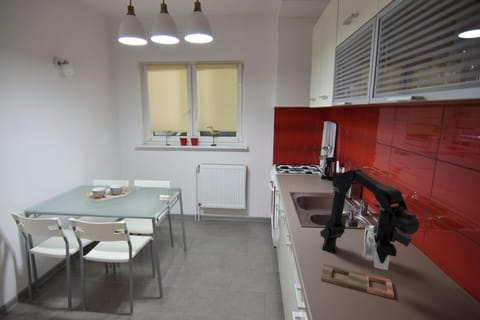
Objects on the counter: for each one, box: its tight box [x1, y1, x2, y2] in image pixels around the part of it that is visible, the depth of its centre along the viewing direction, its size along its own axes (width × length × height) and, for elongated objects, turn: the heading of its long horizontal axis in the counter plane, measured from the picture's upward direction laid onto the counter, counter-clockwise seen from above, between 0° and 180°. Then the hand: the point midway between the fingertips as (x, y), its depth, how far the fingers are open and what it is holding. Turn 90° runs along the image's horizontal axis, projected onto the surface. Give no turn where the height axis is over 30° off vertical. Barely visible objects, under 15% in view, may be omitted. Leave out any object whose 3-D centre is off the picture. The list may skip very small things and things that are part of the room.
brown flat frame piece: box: [320, 263, 395, 300], centre depth 108 cm, size 10×26×1 cm, turn 67°
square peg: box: [373, 247, 391, 271], centre depth 102 cm, size 4×4×8 cm
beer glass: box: [362, 224, 376, 263], centre depth 123 cm, size 7×7×15 cm
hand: (381, 259), depth 102 cm, fingers closed on square peg, 4 cm apart
